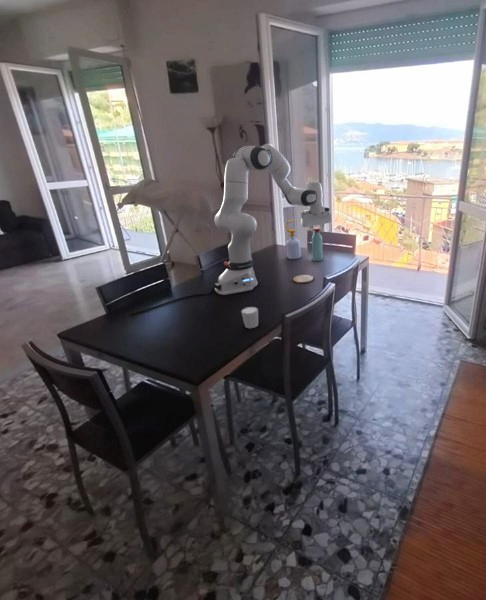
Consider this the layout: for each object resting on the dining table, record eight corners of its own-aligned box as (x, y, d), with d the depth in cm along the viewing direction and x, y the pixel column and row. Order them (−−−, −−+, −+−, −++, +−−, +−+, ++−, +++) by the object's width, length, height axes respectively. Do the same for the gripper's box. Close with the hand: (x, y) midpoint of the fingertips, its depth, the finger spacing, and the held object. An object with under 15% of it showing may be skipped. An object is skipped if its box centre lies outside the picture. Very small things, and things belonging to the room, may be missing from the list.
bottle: (315, 261, 222) (314, 230, 214) (310, 259, 227) (309, 228, 219) (324, 259, 225) (323, 229, 218) (319, 257, 230) (318, 227, 223)
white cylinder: (253, 319, 154) (250, 305, 151) (263, 324, 150) (261, 309, 147) (240, 325, 149) (237, 311, 146) (250, 330, 145) (248, 315, 142)
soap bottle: (300, 259, 228) (297, 221, 218) (286, 259, 228) (282, 221, 218) (301, 254, 236) (299, 217, 226) (288, 255, 237) (285, 218, 226)
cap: (317, 230, 222) (317, 227, 221) (321, 231, 219) (321, 228, 218) (311, 231, 219) (311, 228, 218) (316, 232, 216) (316, 229, 215)
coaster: (299, 285, 188) (299, 283, 188) (289, 279, 197) (289, 277, 196) (317, 280, 194) (317, 278, 194) (307, 274, 202) (307, 273, 202)
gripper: (303, 212, 206) (304, 235, 212) (332, 207, 216) (333, 230, 222) (298, 210, 211) (299, 233, 216) (327, 206, 221) (327, 228, 227)
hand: (317, 232), depth 219 cm, fingers closed on cap, 4 cm apart
